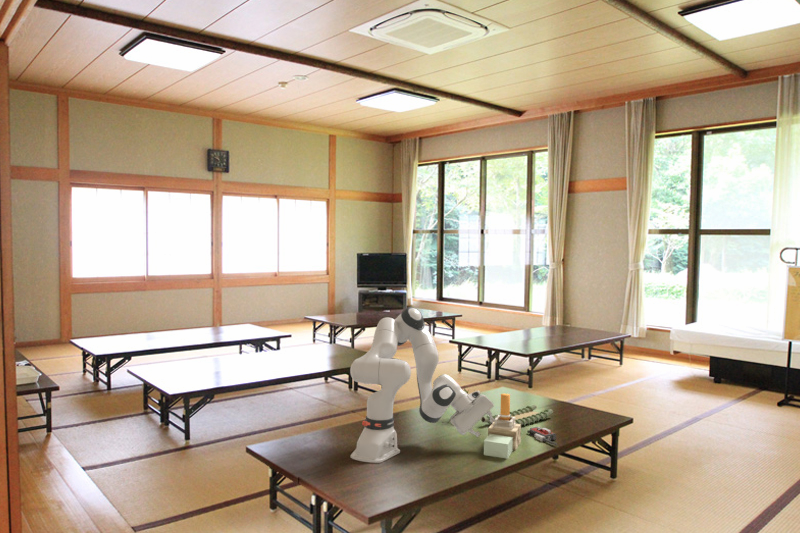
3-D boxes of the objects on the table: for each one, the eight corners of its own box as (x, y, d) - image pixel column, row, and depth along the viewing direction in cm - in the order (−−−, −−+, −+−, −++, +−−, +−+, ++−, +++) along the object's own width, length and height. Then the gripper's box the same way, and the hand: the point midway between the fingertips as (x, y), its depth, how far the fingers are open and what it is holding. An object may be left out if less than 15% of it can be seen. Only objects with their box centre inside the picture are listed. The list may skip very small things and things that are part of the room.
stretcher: (502, 433, 264) (502, 423, 263) (479, 426, 275) (479, 416, 275) (554, 418, 289) (554, 409, 289) (532, 412, 300) (532, 403, 300)
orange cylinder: (508, 426, 245) (509, 396, 245) (498, 424, 247) (499, 395, 247) (510, 423, 249) (511, 394, 249) (500, 421, 251) (501, 393, 251)
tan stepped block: (515, 450, 241) (515, 423, 240) (487, 446, 245) (488, 420, 245) (520, 441, 252) (521, 416, 251) (494, 438, 256) (494, 413, 256)
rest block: (507, 458, 231) (507, 444, 231) (483, 454, 235) (484, 440, 235) (512, 450, 240) (512, 437, 240) (489, 447, 244) (489, 433, 244)
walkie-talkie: (523, 434, 263) (554, 448, 245) (523, 425, 263) (554, 438, 245) (537, 432, 267) (569, 445, 250) (537, 422, 267) (569, 435, 250)
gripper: (449, 417, 240) (472, 442, 235) (481, 388, 249) (503, 411, 245) (446, 421, 245) (468, 446, 241) (477, 393, 255) (499, 416, 250)
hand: (486, 428), depth 243 cm, fingers open, 8 cm apart
